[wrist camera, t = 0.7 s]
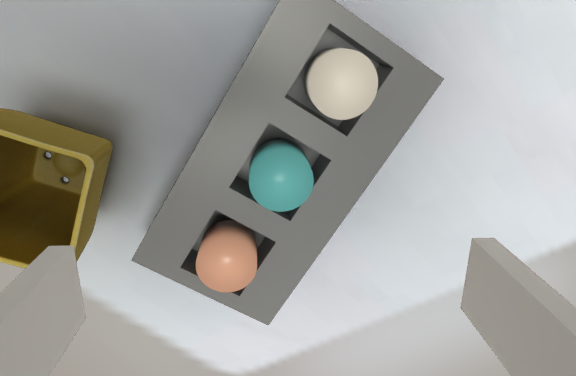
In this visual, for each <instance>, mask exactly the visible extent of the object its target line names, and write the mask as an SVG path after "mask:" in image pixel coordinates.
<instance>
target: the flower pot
mask: <svg viewBox="0 0 576 376" xmlns="http://www.w3.org/2000/svg"><path fill="white" fill-rule="evenodd" d="M46 152H49V153H51V155H52V158H50V159H48V158H46V157H45V153H46ZM111 153H112V143H111V142H110V141H109V140H107V139H105V138H102V137H98V136H95V135H91V134H88V133H85V132H82V131H79V130H76V129H72V128H69V127H66V126H63V125H60V124H57V123H53V122H50V121H47V120H44V119H41V118H38V117H35V116H32V115H29V114H26V113H23V112H19V111H15V110H10V109H1V108H0V262H2V263H6V264H10V265H13V266H17V267H20V268H26V267H28V266H29V265H30V264H31V263H32V262H33V261H34V260H35V259H36V258H37V257H38V256H39V255H40V254H41V253H42V252H43V251H44V250H45V249H46V248H47V247H48V246H71V245H73V246H74V252H75V257H76V262H77V260H78V259H79V257H80V255H81V253H82V251H83V250H84V248H85V246H86V244H87V242H88V241H89V239H90V236H91V234H92V232H93V229H94V225H95V221H96V216H97V211H98V207H99V202H100V198H101V193H102V189H103V185H104V181H105V176H106V172H107V168H108V164H109V160H110V157H111ZM63 177H67V178H68V179H69V182H68V183H64V182H63V181H62V178H63Z"/></svg>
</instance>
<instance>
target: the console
mask: <svg viewBox="0 0 576 376" xmlns="http://www.w3.org/2000/svg"><path fill="white" fill-rule="evenodd" d="M334 47H338V48H346V49H352V50H356V51H358V52H361V53H362V54H364V55H365V56H366V57H368V58H369V59H370V61H371V62H372V63H373V65H374V67H375V69H376V72H377V76H378V89H377V93H376V96H375V98H374V100H373V102H372V104H371V105H370V106H369V108H368V109H367V110H366V111H364V112H363V113H362V114H360V115H359V116H357V117H354V118H351V119H347V120H337V119H333V118H330V117H328V116H326V115H324V114H323V113H321V112H320V111H319V110H318V109H317V107H316V106H315V105H314V104H313V103H312V101H311V100H310V99H309V97H308V96H307V93H306V91H305V86H304V75H305V71H306V68H307V66H308V64H309V62H310V61H311V60H312V59H313V57H314V56H316V55H317V54H318V53H319V52H321V51H323V50H325V49H328V48H334ZM443 80H444V78H442V77H441V76H439V75H438V74H437V73H435V72H434V71H432V70H431V69H430V68H428V67H427V66H425V65H424V64H423V63H421V62H420V61H418V60H417V59H416V58H414V57H413V56H411V55H410V54H409V53H407V52H406V51H404V50H403V49H402V48H400V47H399V46H397V45H396V44H395V43H393V42H392V41H390V40H389V39H388V38H386V37H385V36H383V35H382V34H381V33H379V32H378V31H376V30H375V29H373V28H372V27H371V26H369V25H368V24H366V23H365V22H364V21H362V20H361V19H359V18H358V17H357V16H355V15H354V14H352V13H351V12H350V11H348V10H347V9H345V8H344V7H343V6H341V5H340V4H338V3H337V2H336V1H334V0H279V2H278V4H277V6H276V7H275V9H274V11H273V13H272V14H271V16H270V18H269V20H268V21H267V23H266V25H265V27H264V28H263V30H262V32H261V34H260V35H259V37H258V39H257V41H256V42H255V44H254V46H253V48H252V49H251V51H250V53H249V55H248V56H247V58H246V60H245V62H244V63H243V65H242V67H241V69H240V70H239V72H238V74H237V76H236V77H235V79H234V81H233V83H232V84H231V86H230V88H229V90H228V91H227V93H226V95H225V97H224V98H223V100H222V102H221V104H220V105H219V107H218V109H217V111H216V112H215V114H214V116H213V118H212V119H211V121H210V123H209V125H208V126H207V128H206V130H205V132H204V133H203V135H202V137H201V139H200V140H199V142H198V144H197V146H196V147H195V149H194V151H193V153H192V154H191V156H190V158H189V160H188V161H187V163H186V165H185V167H184V168H183V170H182V172H181V173H180V175H179V177H178V179H177V180H176V182H175V184H174V186H173V187H172V189H171V191H170V193H169V194H168V196H167V198H166V200H165V201H164V203H163V205H162V207H161V208H160V210H159V212H158V214H157V215H156V217H155V219H154V221H153V222H152V224H151V226H150V228H149V229H148V231H147V233H146V235H145V237H144V238H143V240H142V242H141V244H140V246H139V247H138V249H137V251H136V253H135V255H134V256H133V258H132V260H131V261H134V262H136V263H138V264H140V265H142V266H144V267H146V268H148V269H150V270H153V271H155V272H157V273H159V274H161V275H163V276H165V277H167V278H169V279H172V280H174V281H176V282H178V283H180V284H182V285H184V286H186V287H188V288H190V289H193V290H195V291H197V292H199V293H201V294H203V295H205V296H207V297H209V298H212V299H214V300H216V301H218V302H220V303H222V304H224V305H226V306H228V307H231V308H233V309H235V310H237V311H239V312H241V313H243V314H245V315H247V316H249V317H252V318H254V319H256V320H258V321H260V322H262V323H264V324H266V325H269V324H270V322H271V321H272V320H273V318H274V317H275V315H276V314H277V313H278V311H279V310H280V308H281V307H282V306H283V304H284V303H285V301H286V300H287V299H288V297H289V296H290V294H291V293H292V292H293V290H294V289H295V287H296V286H297V284H298V283H299V282H300V280H301V279H302V277H303V276H304V275H305V273H306V272H307V270H308V269H309V268H310V266H311V265H312V263H313V262H314V261H315V259H316V258H317V256H318V255H319V254H320V252H321V251H322V249H323V248H324V247H325V245H326V244H327V242H328V241H329V240H330V238H331V237H332V235H333V234H334V233H335V231H336V230H337V228H338V227H339V226H340V224H341V223H342V221H343V220H344V219H345V217H346V216H347V214H348V213H349V212H350V210H351V209H352V207H353V206H354V205H355V203H356V202H357V200H358V199H359V197H360V196H361V195H362V193H363V192H364V190H365V189H366V188H367V186H368V185H369V183H370V182H371V181H372V179H373V178H374V176H375V175H376V174H377V172H378V171H379V169H380V168H381V167H382V165H383V164H384V162H385V161H386V160H387V158H388V157H389V155H390V154H391V153H392V151H393V150H394V148H395V147H396V146H397V144H398V143H399V141H400V140H401V139H402V137H403V136H404V134H405V133H406V132H407V130H408V129H409V127H410V126H411V125H412V123H413V122H414V120H415V119H416V118H417V116H418V115H419V113H420V112H421V110H422V109H423V108H424V106H425V105H426V103H427V102H428V101H429V99H430V98H431V96H432V95H433V94H434V92H435V91H436V89H437V88H438V87H439V85H440V84H441V82H442V81H443ZM274 139H285V140H289V141H291V142H293V143H295V144H297V145H298V146H299V147H300V148H301V149H302V150H303V151H304V153H305V155H306V157H307V159H308V162H309V164H310V167H311V169H312V172H313V177H314V183H313V188H312V191H311V194H310V195H309V197H308V198H307V200H306V201H305V202H304V203H303V204H301V205H300V206H299V207H297V208H295V209H293V210H289V211H283V212H278V211H272V210H269V209H267V208H264V207H263V206H261V205H260V204H259V203H258V202H257V201H256V200H255V199H254V197H253V196H252V194H251V191H250V188H249V168H250V160H251V158H252V155H253V153H254V152H255V151H256V149H257V148H258V147H259V146H261V145H262V144H263V143H265V142H267V141H270V140H274ZM225 220H233V221H237V222H239V223H241V224H243V225H245V226H247V227H249V228H250V229H251V230H252V232H253V233H254V235H255V237H256V241H257V271H256V274H255V277H254V278H253V280H252V281H251V282H250V283H249V284H248V285H247V286H246V287H244V288H243V289H241V290H238V291H235V292H218V291H215V290H213V289H211V288H209V287H207V286H206V285H205V284H204V283H203V282H202V281H201V280H200V278H199V277H198V275H197V272H196V259H197V255H198V252H199V248H200V244H201V240H202V237H203V235H204V233H205V232H206V230H207V229H208V228H209V227H210V226H212V225H213V224H215V223H217V222H220V221H225Z"/></svg>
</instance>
